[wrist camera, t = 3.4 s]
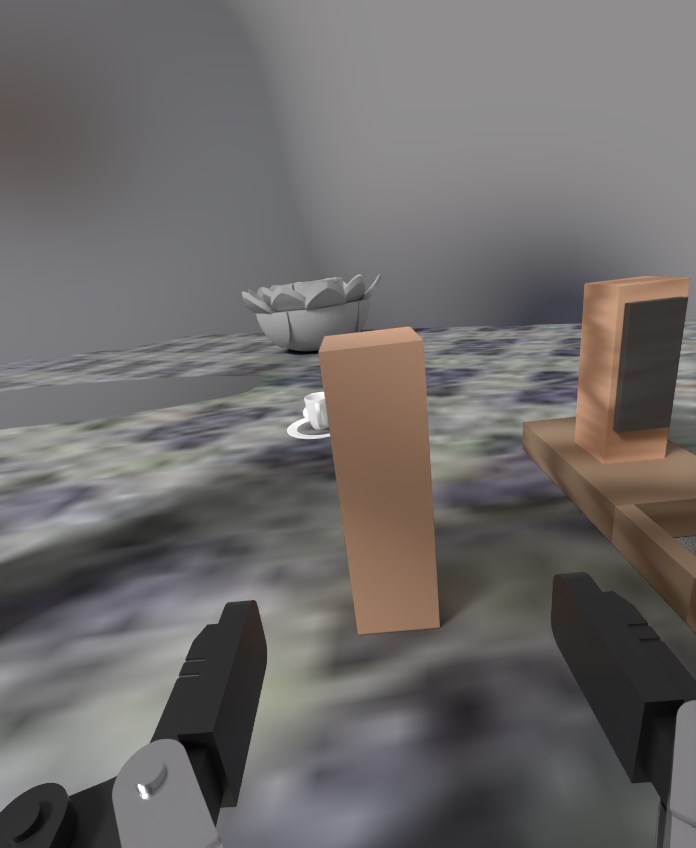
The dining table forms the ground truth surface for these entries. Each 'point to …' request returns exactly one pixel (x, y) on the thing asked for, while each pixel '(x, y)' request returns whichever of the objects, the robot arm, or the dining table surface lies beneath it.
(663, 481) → the rail
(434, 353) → the dining table surface
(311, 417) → the teacup and saucer
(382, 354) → the tall tan pillar block
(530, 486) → the dining table surface
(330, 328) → the decorative bowl
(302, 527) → the dining table surface
